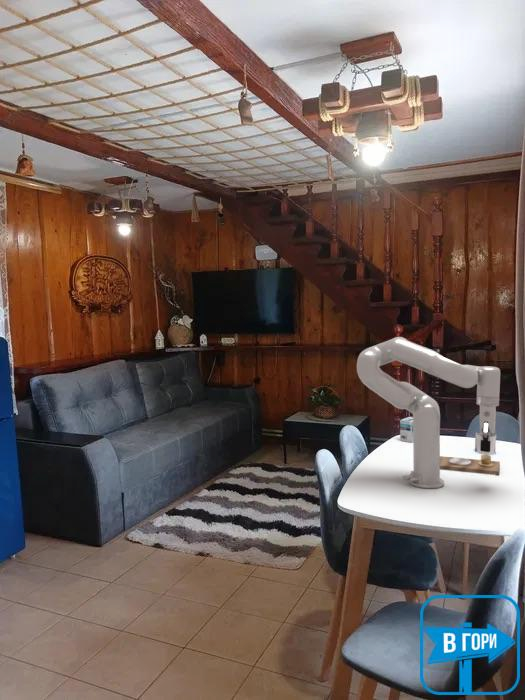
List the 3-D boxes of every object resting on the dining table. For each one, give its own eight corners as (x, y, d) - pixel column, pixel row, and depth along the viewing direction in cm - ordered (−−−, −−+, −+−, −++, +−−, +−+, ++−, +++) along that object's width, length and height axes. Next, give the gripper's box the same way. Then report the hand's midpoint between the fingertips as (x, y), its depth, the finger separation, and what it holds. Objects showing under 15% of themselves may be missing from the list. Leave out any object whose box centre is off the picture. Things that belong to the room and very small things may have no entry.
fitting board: (435, 468, 217) (435, 456, 216) (439, 459, 229) (439, 447, 229) (498, 475, 207) (499, 461, 206) (499, 465, 219) (499, 452, 219)
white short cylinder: (474, 453, 191) (475, 434, 190) (476, 449, 197) (477, 430, 196) (494, 456, 187) (495, 437, 187) (496, 451, 193) (497, 433, 193)
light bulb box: (412, 443, 258) (411, 421, 257) (399, 441, 263) (399, 419, 262) (422, 438, 266) (422, 417, 265) (409, 436, 270) (409, 416, 270)
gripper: (498, 405, 181) (496, 456, 182) (499, 397, 197) (497, 444, 198) (475, 403, 184) (473, 453, 186) (477, 396, 200) (475, 442, 201)
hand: (485, 448), depth 192 cm, fingers closed on white short cylinder, 6 cm apart
